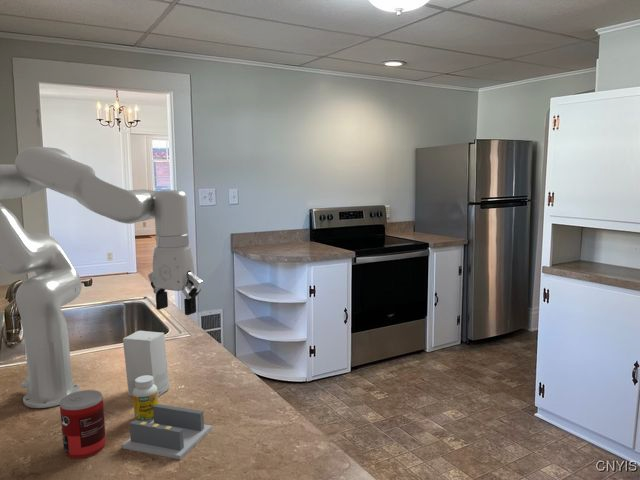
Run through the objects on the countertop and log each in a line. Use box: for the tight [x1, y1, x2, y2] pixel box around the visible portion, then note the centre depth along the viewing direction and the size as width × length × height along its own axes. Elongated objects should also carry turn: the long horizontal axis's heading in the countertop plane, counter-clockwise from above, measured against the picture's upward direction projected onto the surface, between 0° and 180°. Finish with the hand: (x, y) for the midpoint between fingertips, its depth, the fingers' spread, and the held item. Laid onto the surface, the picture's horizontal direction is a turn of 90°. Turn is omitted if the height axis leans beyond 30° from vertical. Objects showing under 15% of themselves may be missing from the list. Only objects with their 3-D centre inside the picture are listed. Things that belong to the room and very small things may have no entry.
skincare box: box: [122, 330, 170, 398], centre depth 124 cm, size 8×7×16 cm
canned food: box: [59, 389, 107, 459], centre depth 99 cm, size 8×8×11 cm
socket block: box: [121, 403, 213, 461], centre depth 103 cm, size 14×12×5 cm
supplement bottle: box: [132, 375, 159, 423], centre depth 112 cm, size 5×5×10 cm
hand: (176, 311), depth 119 cm, fingers open, 9 cm apart
